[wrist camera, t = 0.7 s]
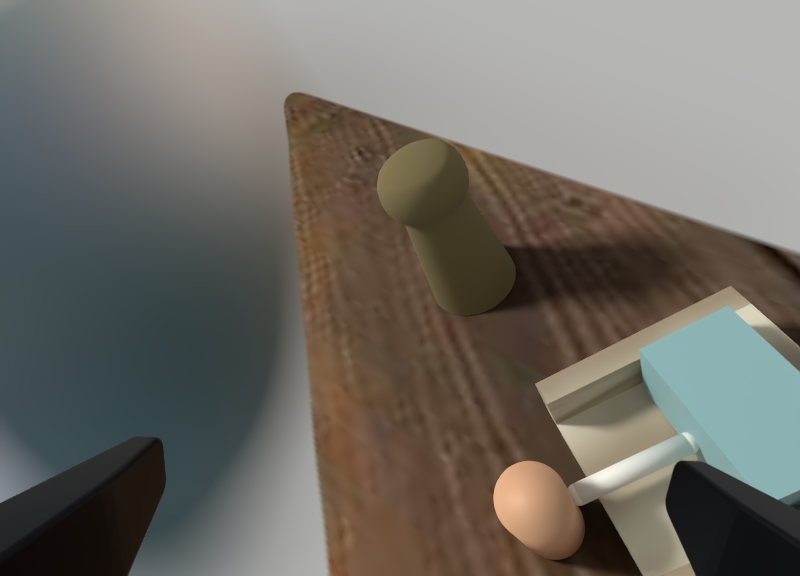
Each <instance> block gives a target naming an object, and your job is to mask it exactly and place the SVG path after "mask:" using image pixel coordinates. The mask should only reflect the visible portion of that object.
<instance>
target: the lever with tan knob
mask: <svg viewBox="0 0 800 576" xmlns="http://www.w3.org/2000/svg"><path fill="white" fill-rule="evenodd" d="M639 354H640V361H641V369H642V376H643V384H644V390H645V391H646V392H647V394H648V395H649V396H650V398H651V399H652V400H653V402H654V403H655V404H656V405H657V407H658V408H659V409H660V411H661V412H662V413H663V415H664V416H665V417H666V418H667V420H668V421H669V422H670V424H671V425H672V426H673V428H674V429H675V430H676V432H677V433H678V435H676V436H674V437H671V438H669V439H667V440H665V441H663V442H661V443H659V444H656V445H654V446H652V447H650V448H648V449H646V450H644V451H642V452H639V453H637V454H635V455H633V456H631V457H629V458H627V459H624V460H622V461H620V462H618V463H616V464H614V465H612V466H609V467H607V468H605V469H603V470H601V471H599V472H597V473H595V474H592V475H590V476H588V477H586V478H584V479H582V480H580V481H577V482H575V483H573V484H571V485H570V486H569V487H568V489H567V487H566V485H565V484H564V482H563V480H562V479H561V477H560V476H559V475H558V474H557V473H556V472H555V471H554V470H553V469H552V468H550V467H548V466H547V465H545V464H542V463H539V462H535V461H524V462H519V463H516V464H514V465H512V466H510V467H509V468H508V469H506V470H505V471H504V472H503V473H502V475H501V476H500V478H499V479H498V481H497V483H496V486H495V490H494V506H495V510H496V513H497V516H498V518H499V520H500V521H501V523H502V524H503V525H504V526H505V528H506V529H508V530H509V531H510V532H511V533H512V534H513V535H514V536H516V537H517V538H518V539H519V540H520V541H521V542H523V543H524V544H525V545H526V546H527V547H528V548H529V549H531V550H532V551H533V552H534V553H536V554H537V555H539V556H541V557H543V558H545V559H550V560H561V559H565V558H568V557H569V556H571V555H573V554H574V553H575V552H576V551H577V550H578V549H579V547H580V546H581V544H582V542H583V539H584V535H585V522H584V518H583V515H582V512H581V510H580V509H579V507H578V506H582V505H585V504H587V503H589V502H591V501H593V500H595V499H598V498H600V497H602V496H604V495H606V494H608V493H611V492H613V491H615V490H617V489H619V488H621V487H624V486H626V485H628V484H630V483H632V482H635V481H637V480H639V479H641V478H643V477H645V476H648V475H650V474H652V473H654V472H656V471H658V470H661V469H663V468H665V467H667V466H669V465H671V464H674V463H676V462H678V461H680V460H682V459H684V458H687V457H689V456H691V455H693V454H694V455H695V456H696V458H697V459H698V460H699V461H702V462H705V463H707V464H709V465H711V466H713V467H715V468H717V469H719V470H721V471H723V472H725V473H727V474H729V475H731V476H733V477H735V478H736V479H738V480H740V481H742V482H744V483H746V484H748V485H750V486H752V487H754V488H756V489H758V490H760V491H762V492H764V493H766V494H768V495H770V496H772V497H774V498H776V499H777V500H779V501H781V502H783V503H785V504H787V505H789V506H791V507H793V508H795V509H797V510H799V511H800V372H799V371H798V370H797V369H796V368H795V367H794V366H793V365H792V364H791V363H790V362H789V361H787V360H786V359H785V358H784V357H783V356H782V355H781V354H780V353H779V352H778V351H777V350H776V349H774V348H773V347H772V346H771V345H770V344H769V343H768V342H767V341H766V340H765V339H764V338H763V337H761V336H760V335H759V334H758V333H757V332H756V331H755V330H754V329H753V328H752V327H751V326H750V325H749V324H747V323H746V322H745V321H744V320H743V319H742V318H741V317H740V316H739V315H738V314H737V313H736V312H734V311H733V310H732V309H731V308H730V307H729V306H726V307H724V308H722V309H720V310H718V311H716V312H714V313H712V314H710V315H708V316H706V317H704V318H702V319H700V320H698V321H696V322H694V323H692V324H690V325H688V326H686V327H684V328H682V329H680V330H677V331H675V332H673V333H671V334H669V335H667V336H665V337H663V338H661V339H659V340H657V341H655V342H653V343H651V344H649V345H647V346H645V347H643V348H641V349H639Z"/></svg>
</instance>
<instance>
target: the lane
mask: <svg viewBox="0 0 800 576" xmlns="http://www.w3.org/2000/svg"><path fill="white" fill-rule="evenodd" d="M726 306H729V307H730V308H731V309H732V310H733V311H734V312H736V313H737V314H738V315H739V316H740V317H741V318H742V319H743V320H744V321H745V322H746V323H747V324H749V325H750V326H751V327H752V328H753V329H754V330H755V331H756V332H757V333H758V334H759V335H760V336H761V337H763V338H764V339H765V340H766V341H767V342H768V343H769V344H770V345H771V346H772V347H773V348H774V349H776V350H777V351H778V352H779V353H780V354H781V355H782V356H783V357H784V358H785V359H786V360H787V361H789V362H790V363H791V364H792V365H793V366H794V367H795V368H796V369H797V370H798V371H799V372H800V347H799V346H798V345H797V344H796V343H795V342H794V341H793V340H791V339H790V338H789V337H788V336H787V335H786V334H785V333H784V332H782V331H781V330H780V329H779V328H778V327H777V326H776V325H774V324H773V323H772V322H771V321H770V320H769V319H768V318H767V317H765V316H764V315H763V314H762V313H761V312H760V311H759V310H757V309H756V308H755V307H754V306H753V305H752V304H751V303H750V302H748V301H747V300H746V299H745V298H744V297H743V296H742V295H740V294H739V293H738V292H737V291H736V290H735V289H734V288H733V287H731V286H729V287H727V288H725V289H723V290H721V291H719V292H717V293H715V294H713V295H712V296H710V297H708V298H706V299H704V300H702V301H700V302H698V303H696V304H694V305H692V306H690V307H688V308H686V309H684V310H682V311H680V312H678V313H676V314H674V315H672V316H670V317H668V318H666V319H664V320H662V321H660V322H658V323H656V324H654V325H652V326H650V327H648V328H646V329H644V330H642V331H640V332H638V333H636V334H634V335H632V336H630V337H628V338H626V339H624V340H622V341H620V342H618V343H616V344H614V345H612V346H610V347H608V348H606V349H604V350H602V351H600V352H598V353H596V354H594V355H592V356H590V357H588V358H586V359H584V360H582V361H580V362H578V363H576V364H574V365H572V366H570V367H568V368H566V369H564V370H562V371H560V372H558V373H556V374H554V375H552V376H550V377H548V378H546V379H544V380H542V381H540V382H538V383H536V384H535V385H536V387H537V389H538V391H539V393H540V395H541V397H542V399H543V401H544V403H545V405H546V407H547V409H548V411H549V413H550V415H551V416H552V418H553V420H554V422H555V423H556V425H557V427H558V429H559V430H560V432H561V434H562V435H563V437H564V439H565V441H566V442H567V444H568V446H569V448H570V449H571V451H572V453H573V455H574V456H575V458H576V460H577V462H578V463H579V465H580V467H581V469H582V470H583V472H584V474H585V476H586V477H588V476H590V475H592V474H595V473H597V472H599V471H601V470H603V469H605V468H607V467H609V466H612V465H614V464H616V463H618V462H620V461H622V460H624V459H627V458H629V457H631V456H633V455H635V454H637V453H639V452H642V451H644V450H646V449H648V448H650V447H652V446H654V445H656V444H659V443H661V442H663V441H665V440H667V439H669V438H671V437H674V436H676V435H678V433H677V432H676V430H675V429H674V428H673V426H672V425H671V424H670V422H669V421H668V420H667V418H666V417H665V416H664V415H663V413H662V412H661V411H660V409H659V408H658V407H657V405H656V404H655V403H654V402H653V400H652V399H651V398H650V396H649V395H648V394H647V392H646V391H645V390H644V384H643V376H642V369H641V361H640V354H639V349H641V348H643V347H645V346H647V345H649V344H651V343H653V342H655V341H657V340H659V339H661V338H663V337H665V336H667V335H669V334H671V333H673V332H675V331H677V330H680V329H682V328H684V327H686V326H688V325H690V324H692V323H694V322H696V321H698V320H700V319H702V318H704V317H706V316H708V315H710V314H712V313H714V312H716V311H718V310H720V309H722V308H724V307H726ZM682 460H687V461H699V460H698V459H697V458H696V456H695V455H694V454H693V455H691V456H689V457H687V458H684V459H682ZM680 461H681V460H680ZM678 462H679V461H678ZM676 463H677V462H676ZM676 463H674V464H671V465H669V466H667V467H665V468H663V469H661V470H658V471H656V472H654V473H652V474H650V475H648V476H645V477H643V478H641V479H639V480H637V481H635V482H632V483H630V484H628V485H626V486H624V487H621V488H619V489H617V490H615V491H613V492H611V493H608V494H606V495H604V496H602V497H600V498H599V500H600V502H601V504H602V505H603V507H604V509H605V511H606V512H607V514H608V516H609V518H610V519H611V521H612V523H613V524H614V526H615V528H616V530H617V531H618V533H619V535H620V537H621V538H622V540H623V542H624V544H625V545H626V547H627V549H628V551H629V552H630V554H631V556H632V558H633V559H634V561H635V563H636V565H637V566H638V568H639V570H640V572H641V573H642V575H643V576H696V575H695V573H694V571H693V569H692V567H691V564H690V562H689V560H688V558H687V556H686V553H685V551H684V549H683V547H682V545H681V542H680V540H679V538H678V536H677V534H676V531H675V529H674V527H673V525H672V523H671V520H670V518H669V516H668V513H667V510H666V505H665V499H666V494H667V490H668V487H669V483H670V479H671V476H672V472H673V468H674V466H675V464H676Z"/></svg>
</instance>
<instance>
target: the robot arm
mask: <svg viewBox="0 0 800 576" xmlns="http://www.w3.org/2000/svg"><path fill="white" fill-rule="evenodd" d="M164 462H165V461H164V450H163V444H162V441H161V440H160V439H159V438H158V437H144V436H136V437H133V438H131V439H128V440H126V441H124V442H123V443H120V444H118V445H116V446H115V447H112V448H110V449H108V450H106V451H104V452H103V453H100V454H98V455H96V456H94V457H92V458H90V459H88V460H86V461H84V462H82V463H80V464H78V465H76V466H74V467H72V468H70V469H68V470H66V471H64V472H62V473H60V474H58V475H56V476H54V477H52V478H50V479H48V480H46V481H44V482H42V483H40V484H38V485H36V486H34V487H32V488H30V489H28V490H26V491H24V492H22V493H20V494H18V495H16V496H14V497H12V498H10V499H8V500H6V501H4V502H2V503H0V576H128V574H129V572H130V570H131V568H132V565H133V563H134V560H135V558H136V556H137V554H138V551H139V549H140V546H141V544H142V542H143V539H144V537H145V535H146V532H147V530H148V528H149V525H150V523H151V521H152V518H153V516H154V514H155V511H156V509H157V506H158V504H159V502H160V499H161V497H162V495H163V492H164V489H165V484H166V472H165V463H164ZM665 505H666V510H667V513H668V516H669V518H670V520H671V523H672V525H673V527H674V529H675V531H676V534H677V536H678V538H679V540H680V542H681V545H682V547H683V549H684V551H685V553H686V556H687V558H688V560H689V562H690V564H691V567H692V569H693V571H694V573H695V575H696V576H800V511H799V510H797V509H795V508H793V507H791V506H789V505H787V504H785V503H783V502H781V501H779V500H777V499H776V498H774V497H772V496H770V495H768V494H766V493H764V492H762V491H760V490H758V489H756V488H754V487H752V486H750V485H748V484H746V483H744V482H742V481H740V480H738V479H736V478H735V477H733V476H731V475H729V474H727V473H725V472H723V471H721V470H719V469H717V468H715V467H713V466H711V465H709V464H707V463H705V462H702V461H687V460H681V461H679V462H677V463H676V464H675V466H674V468H673V472H672V476H671V479H670V483H669V487H668V490H667V494H666V499H665Z"/></svg>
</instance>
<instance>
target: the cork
mask: <svg viewBox="0 0 800 576" xmlns="http://www.w3.org/2000/svg"><path fill="white" fill-rule="evenodd" d="M468 189H469V176H468V169H467V166H466V164H465V161H464V160H463V158H462V156H461V154H460V153H459V152H458V151H457V150H456V148H455V147H453V146H451V145H449V144H448V143H446V142H444V141H442V140H438V139H425V140H419V141H416V142H413V143H410V144H408V145H406V146H404V147H403V148H401V149H399V150H398V151H397V152H395V153H394V154H393V155H392V156H391V157H390V158H389V159H388V160H387V161H386V162H385V163H384V165H383V166H382V168H381V170H380V172H379V176H378V182H377V191H378V194H379V198H380V201H381V204H382V206H383V208H384V209H385V211H386V212H387V213H388V214H389V215H390V216H391V217H392V218H393V219H395V220H396V221H397V222H398V223H399V224H402V225H405V226H406V229H407V231H408V234H409V236H410V238H411V241H412V243H413V246H414V248H415V251H416V253H417V256H418V258H419V261H420V263H421V266H422V268H423V270H424V273H425V275H426V278H427V280H428V283H429V285H430V288H431V290H432V293H433V295H434V298H435V300H436V302H437V304H438V305H439V306H440V307H441V308H442V309H443V310H445V311H447V312H449V313H451V314H453V315H461V316H470V315H476V314H481V313H483V312H485V311H487V310H490V309H492V308H494V307H495V306H496V305H498V304H499V303H500V302H501V301H502V300H504V299H505V298H506V296H507V295H508V293H509V292H510V291H511V289H512V288H513V285H514V281H515V278H516V269H515V264H514V262H513V261H512V259H511V257H510V255H509V254H508V252H507V251H506V249H505V248H504V246H503V245H502V243H501V242H500V240H499V239H498V237H497V236H496V234H495V233H494V231H493V230H492V228H491V227H490V225H489V223H488V222H487V220H486V219H485V217H484V216H483V214H482V213H481V211H480V210H479V208H478V207H477V205H476V204H475V202H474V201H473V199H472V198H471V196H470V195H469V193H468V192H467V191H468Z"/></svg>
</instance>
